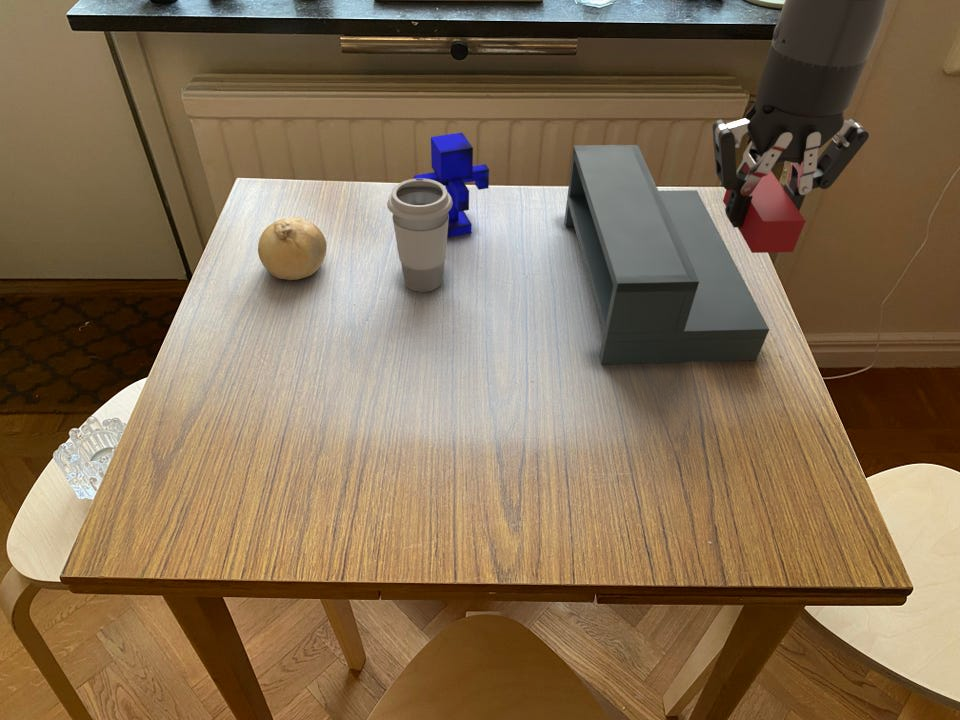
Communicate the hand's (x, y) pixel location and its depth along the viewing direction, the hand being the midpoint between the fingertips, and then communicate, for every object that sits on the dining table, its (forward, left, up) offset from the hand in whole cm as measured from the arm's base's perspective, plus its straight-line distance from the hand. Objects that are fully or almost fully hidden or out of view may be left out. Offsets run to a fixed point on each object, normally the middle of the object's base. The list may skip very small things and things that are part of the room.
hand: (758, 221), depth 69 cm
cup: (+29, +19, -15) cm, 38 cm away
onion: (+41, +29, -15) cm, 52 cm away
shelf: (+10, -1, -14) cm, 18 cm away
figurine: (+35, +9, -15) cm, 39 cm away
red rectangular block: (0, 0, 0) cm, 0 cm away
